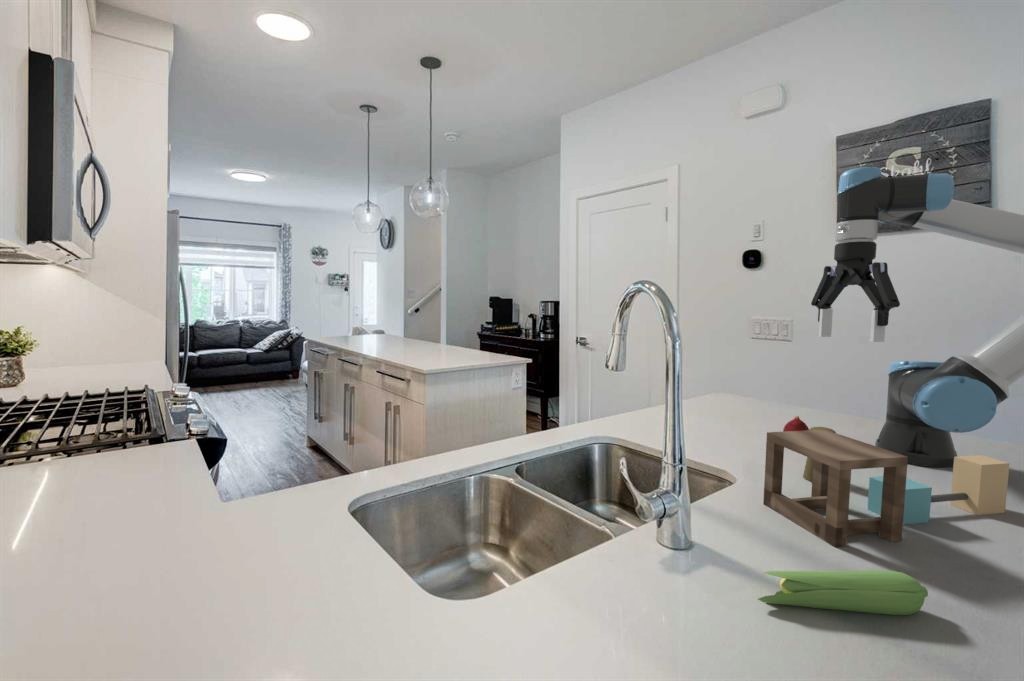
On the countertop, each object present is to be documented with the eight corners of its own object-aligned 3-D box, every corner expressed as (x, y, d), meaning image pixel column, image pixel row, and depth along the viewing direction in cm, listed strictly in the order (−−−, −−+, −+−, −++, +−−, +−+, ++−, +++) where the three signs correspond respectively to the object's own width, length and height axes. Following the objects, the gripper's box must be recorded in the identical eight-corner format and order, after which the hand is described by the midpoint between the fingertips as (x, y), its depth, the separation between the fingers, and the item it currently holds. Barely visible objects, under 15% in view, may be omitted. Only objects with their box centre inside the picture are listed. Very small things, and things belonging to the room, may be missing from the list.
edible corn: (945, 593, 56) (918, 561, 60) (761, 586, 58) (748, 556, 63) (933, 625, 58) (908, 593, 62) (756, 617, 60) (743, 586, 64)
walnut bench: (820, 499, 92) (824, 429, 91) (901, 540, 77) (907, 456, 75) (763, 503, 90) (766, 432, 89) (835, 547, 74) (840, 461, 73)
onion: (813, 450, 122) (815, 418, 122) (790, 450, 122) (792, 418, 122) (800, 443, 128) (802, 413, 127) (778, 443, 128) (779, 413, 127)
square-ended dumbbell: (972, 500, 92) (976, 453, 91) (1009, 514, 86) (1014, 464, 85) (867, 509, 88) (870, 460, 87) (899, 524, 82) (903, 472, 81)
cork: (842, 486, 99) (845, 432, 98) (809, 483, 100) (812, 430, 99) (829, 475, 105) (832, 424, 104) (798, 473, 106) (801, 423, 105)
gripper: (797, 247, 119) (793, 335, 121) (894, 234, 94) (887, 344, 96) (824, 248, 120) (819, 334, 122) (927, 235, 96) (919, 343, 97)
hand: (849, 339), depth 109 cm, fingers open, 13 cm apart
